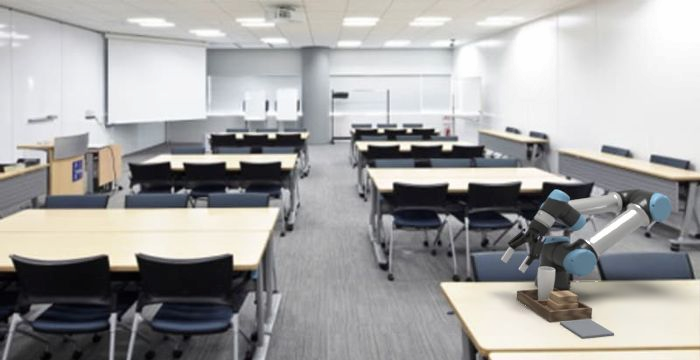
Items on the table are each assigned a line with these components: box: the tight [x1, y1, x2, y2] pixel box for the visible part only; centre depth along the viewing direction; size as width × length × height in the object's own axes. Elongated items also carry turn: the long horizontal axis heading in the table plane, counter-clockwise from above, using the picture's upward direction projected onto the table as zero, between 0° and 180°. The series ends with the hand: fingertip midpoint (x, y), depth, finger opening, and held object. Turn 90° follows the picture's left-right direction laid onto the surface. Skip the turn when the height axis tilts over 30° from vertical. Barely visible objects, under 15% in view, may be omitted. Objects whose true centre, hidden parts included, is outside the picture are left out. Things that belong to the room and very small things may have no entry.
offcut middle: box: [547, 299, 578, 311], centre depth 215 cm, size 9×7×3 cm
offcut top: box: [549, 290, 578, 305], centre depth 215 cm, size 8×6×3 cm
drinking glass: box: [536, 266, 555, 300], centre depth 225 cm, size 7×7×15 cm
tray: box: [516, 288, 593, 323], centre depth 221 cm, size 18×24×4 cm
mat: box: [559, 318, 615, 340], centre depth 201 cm, size 13×13×1 cm
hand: (512, 266), depth 226 cm, fingers open, 13 cm apart
